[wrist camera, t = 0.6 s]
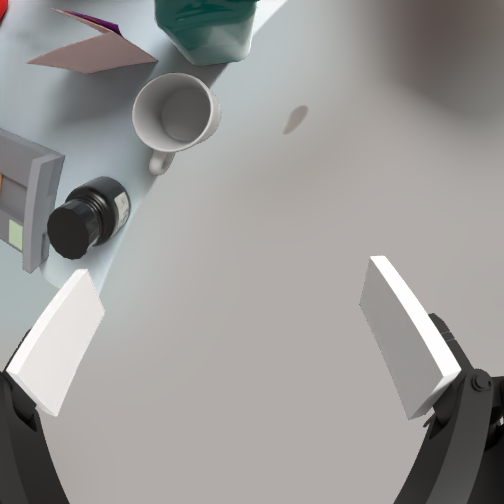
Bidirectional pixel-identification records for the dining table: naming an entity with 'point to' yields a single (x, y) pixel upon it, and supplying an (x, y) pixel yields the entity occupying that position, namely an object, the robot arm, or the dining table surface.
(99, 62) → the greeting card
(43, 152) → the breaker housing
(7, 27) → the dining table surface
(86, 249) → the ink bottle
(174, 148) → the mug
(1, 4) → the tomato
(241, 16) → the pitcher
